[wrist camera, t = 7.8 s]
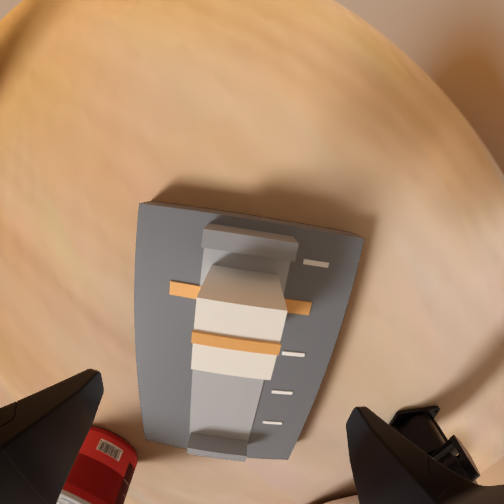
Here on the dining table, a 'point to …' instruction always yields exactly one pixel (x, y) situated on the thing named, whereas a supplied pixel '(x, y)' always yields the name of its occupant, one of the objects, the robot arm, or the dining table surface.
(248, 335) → the fader tab
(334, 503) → the white serving bowl
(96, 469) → the canned food
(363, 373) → the dining table surface
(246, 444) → the console plate
